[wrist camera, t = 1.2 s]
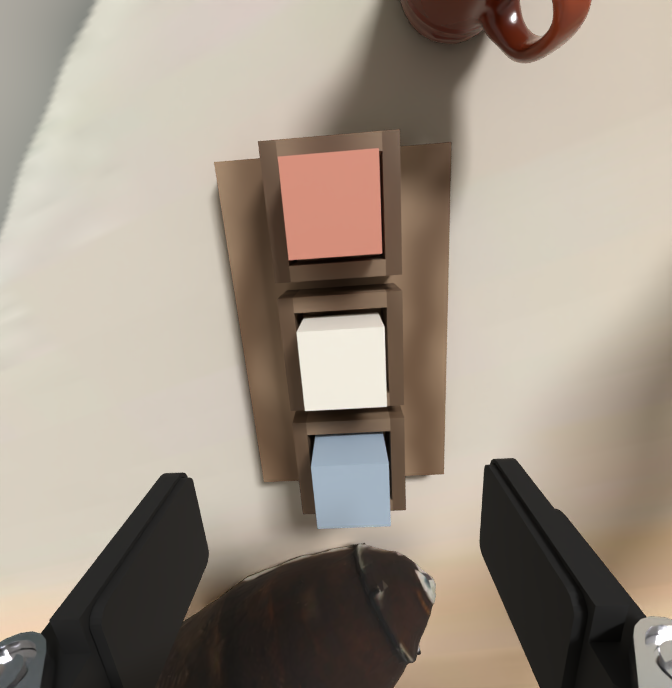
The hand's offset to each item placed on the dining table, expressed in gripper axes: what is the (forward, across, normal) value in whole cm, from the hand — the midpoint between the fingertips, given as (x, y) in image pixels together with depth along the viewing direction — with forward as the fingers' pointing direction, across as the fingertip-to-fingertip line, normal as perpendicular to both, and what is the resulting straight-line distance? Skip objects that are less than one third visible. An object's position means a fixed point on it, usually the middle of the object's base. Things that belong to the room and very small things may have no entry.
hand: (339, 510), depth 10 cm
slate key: (+15, 0, +9) cm, 18 cm away
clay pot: (+20, +5, +28) cm, 35 cm away
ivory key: (+15, 0, 0) cm, 15 cm away
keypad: (+20, 0, 0) cm, 20 cm away
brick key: (+15, 0, -9) cm, 17 cm away
